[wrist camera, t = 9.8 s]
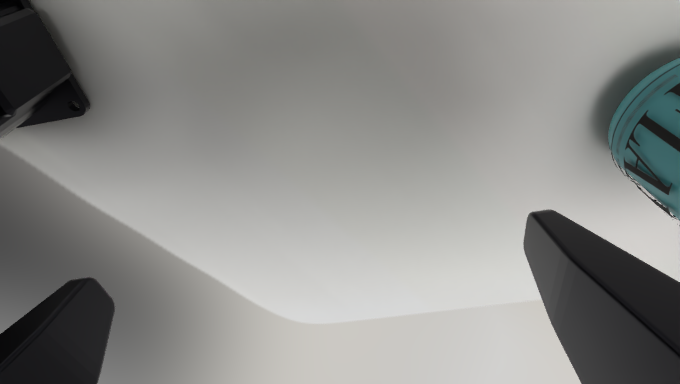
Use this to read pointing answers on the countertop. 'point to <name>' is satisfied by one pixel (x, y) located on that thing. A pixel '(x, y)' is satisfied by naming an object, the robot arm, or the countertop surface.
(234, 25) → the countertop surface
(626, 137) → the beverage bottle
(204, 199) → the countertop surface
